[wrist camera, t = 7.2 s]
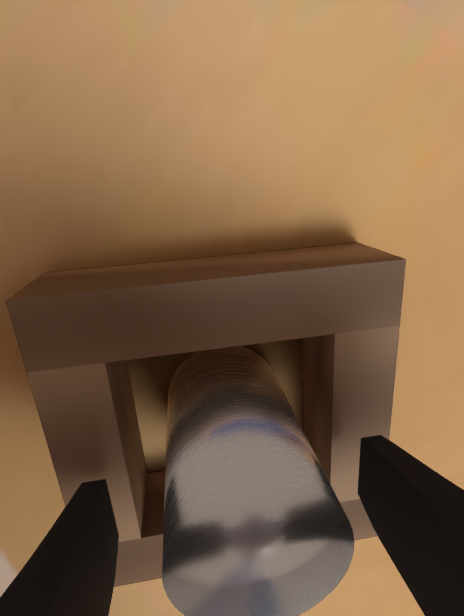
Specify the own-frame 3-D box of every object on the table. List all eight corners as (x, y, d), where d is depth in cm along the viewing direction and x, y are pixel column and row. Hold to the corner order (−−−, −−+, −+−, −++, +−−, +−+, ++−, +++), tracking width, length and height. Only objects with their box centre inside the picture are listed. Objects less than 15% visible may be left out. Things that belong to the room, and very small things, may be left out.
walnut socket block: (346, 477, 17) (379, 535, 14) (105, 519, 16) (90, 591, 13) (358, 242, 14) (405, 259, 11) (44, 272, 12) (5, 300, 9)
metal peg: (281, 427, 16) (357, 603, 9) (179, 449, 15) (182, 649, 9) (270, 334, 14) (350, 465, 8) (157, 357, 14) (141, 515, 7)
